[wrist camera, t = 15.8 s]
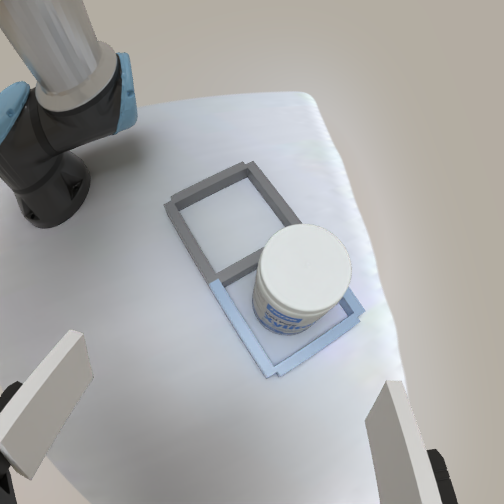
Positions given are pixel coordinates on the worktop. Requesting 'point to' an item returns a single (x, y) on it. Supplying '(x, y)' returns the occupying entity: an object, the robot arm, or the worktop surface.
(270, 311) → the supplement tub
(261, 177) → the bay frame
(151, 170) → the worktop surface
